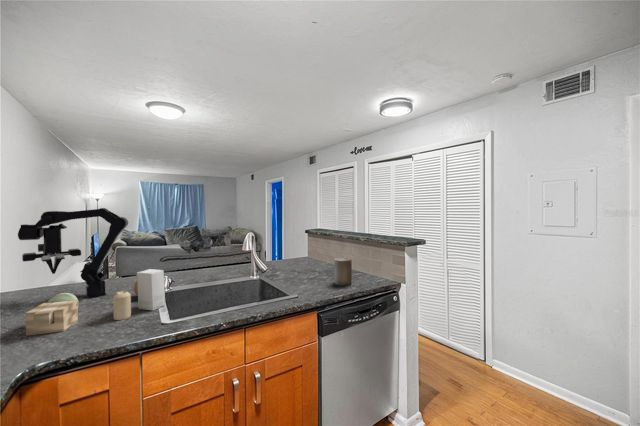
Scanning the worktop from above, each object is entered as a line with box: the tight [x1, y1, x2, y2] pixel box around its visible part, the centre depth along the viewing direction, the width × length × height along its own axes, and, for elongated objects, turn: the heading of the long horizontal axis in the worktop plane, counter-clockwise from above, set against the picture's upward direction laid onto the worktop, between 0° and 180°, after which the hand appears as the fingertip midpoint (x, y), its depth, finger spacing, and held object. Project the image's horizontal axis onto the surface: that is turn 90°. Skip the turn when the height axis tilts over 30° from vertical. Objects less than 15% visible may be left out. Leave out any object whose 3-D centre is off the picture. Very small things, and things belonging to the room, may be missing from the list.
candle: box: [112, 290, 132, 321], centre depth 107 cm, size 6×6×10 cm
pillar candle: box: [333, 256, 353, 287], centre depth 154 cm, size 10×10×15 cm
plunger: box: [33, 292, 80, 326], centre depth 98 cm, size 14×9×9 cm, turn 19°
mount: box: [25, 299, 79, 336], centre depth 98 cm, size 10×10×8 cm
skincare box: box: [136, 268, 166, 311], centre depth 117 cm, size 8×7×16 cm
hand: (53, 273), depth 125 cm, fingers closed
